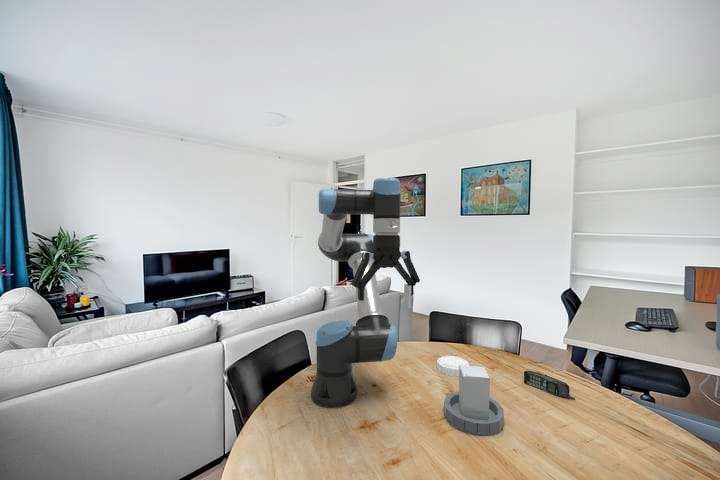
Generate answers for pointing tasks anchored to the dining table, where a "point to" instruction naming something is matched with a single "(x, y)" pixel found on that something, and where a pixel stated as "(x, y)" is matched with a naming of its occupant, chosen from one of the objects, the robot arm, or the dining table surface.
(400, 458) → the dining table surface
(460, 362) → the mooncake
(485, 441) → the dining table surface
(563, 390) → the mobile phone
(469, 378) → the supplement box
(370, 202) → the robot arm
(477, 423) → the round tray
